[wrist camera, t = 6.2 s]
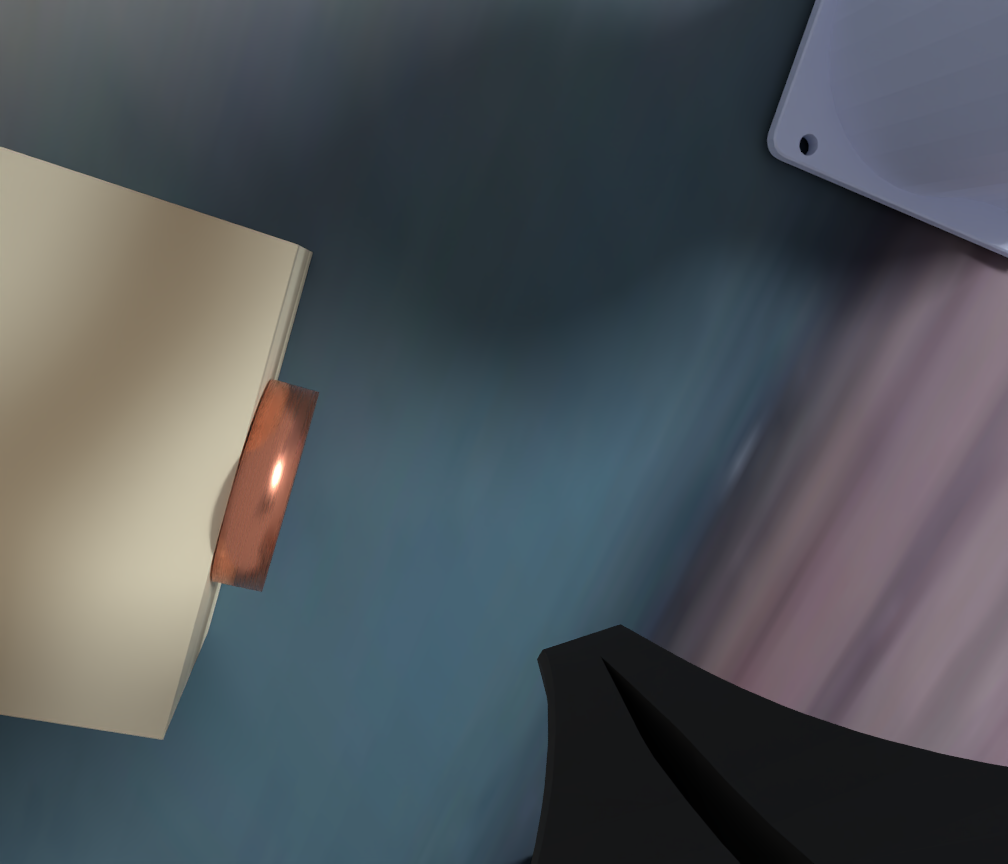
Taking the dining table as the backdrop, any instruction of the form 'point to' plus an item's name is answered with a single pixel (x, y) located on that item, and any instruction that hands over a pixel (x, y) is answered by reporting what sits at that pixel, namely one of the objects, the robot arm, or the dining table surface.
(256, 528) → the pin
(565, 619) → the dining table surface
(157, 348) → the hitch block
